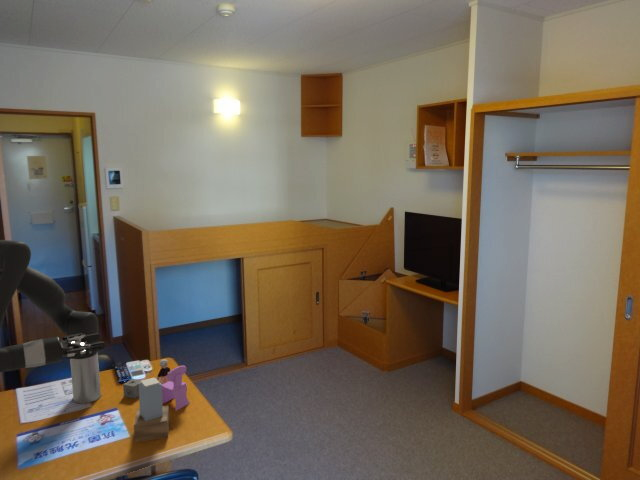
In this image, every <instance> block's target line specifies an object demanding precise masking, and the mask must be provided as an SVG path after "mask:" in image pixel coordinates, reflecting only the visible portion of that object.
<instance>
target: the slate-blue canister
mask: <svg viewBox="0 0 640 480" xmlns="http://www.w3.org/2000/svg"><path fill="white" fill-rule="evenodd" d="M138 399H139V400H138V401H139V409H140V415H141V416H142V418H143V419H144V420H145V421H149V420H152V419H155V418H158V417H161V416H163V411H162V406H163V404H162V384H161V383H160V380H159V381H158V380H157V377H151V378H146V379H143V380H142V381H140V382H139V396H138Z"/></svg>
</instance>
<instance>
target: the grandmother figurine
mask: <svg viewBox="0 0 640 480" xmlns="http://www.w3.org/2000/svg"><path fill="white" fill-rule="evenodd" d="M168 363H169V361H168V359H166V358H165V359H164V358H163V359H161V360H160V361H159V363H158V364H159V366H160V370H159V372H158V374H157V377H156V379H157V380H158V381H159V382H160V383H161V384H164V383H167V382H169V380H168V379H167V375H168V373H169V372H170V371H171V370H172V369H171V368H170V367H169V366H168Z"/></svg>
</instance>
